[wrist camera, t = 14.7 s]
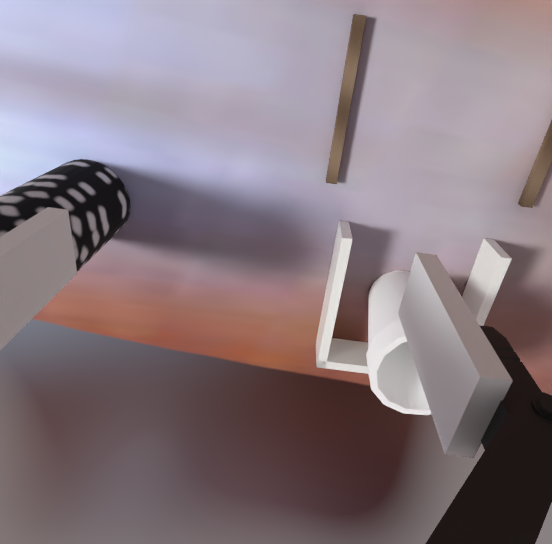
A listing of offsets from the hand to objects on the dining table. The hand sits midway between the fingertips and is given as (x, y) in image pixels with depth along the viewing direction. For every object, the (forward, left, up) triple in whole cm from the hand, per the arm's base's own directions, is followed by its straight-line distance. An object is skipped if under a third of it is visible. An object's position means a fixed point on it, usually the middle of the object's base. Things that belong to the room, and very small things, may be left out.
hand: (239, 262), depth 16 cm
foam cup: (+16, +15, -27) cm, 35 cm away
